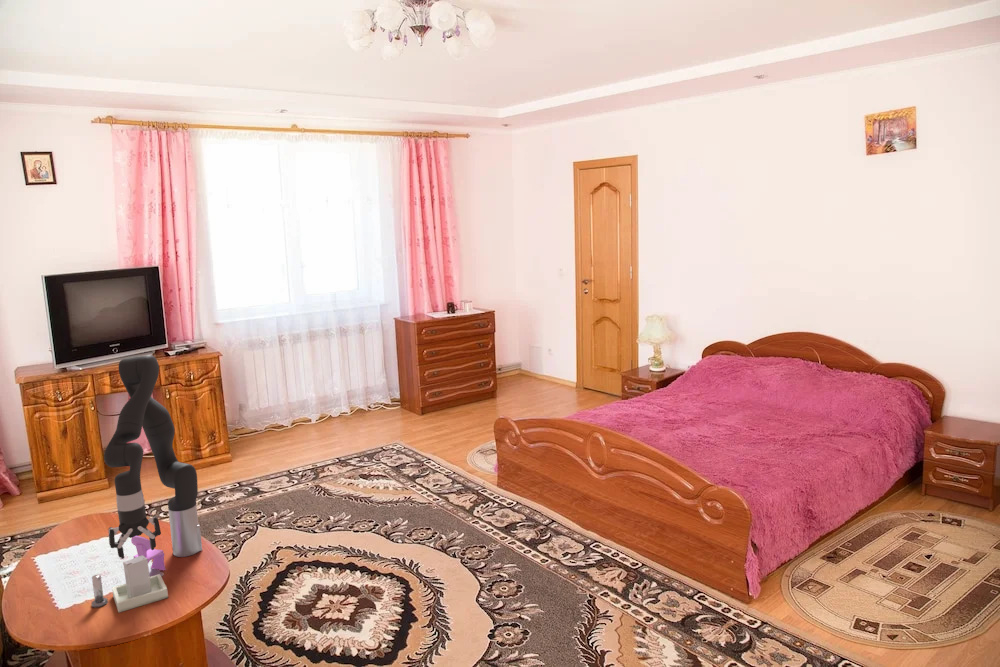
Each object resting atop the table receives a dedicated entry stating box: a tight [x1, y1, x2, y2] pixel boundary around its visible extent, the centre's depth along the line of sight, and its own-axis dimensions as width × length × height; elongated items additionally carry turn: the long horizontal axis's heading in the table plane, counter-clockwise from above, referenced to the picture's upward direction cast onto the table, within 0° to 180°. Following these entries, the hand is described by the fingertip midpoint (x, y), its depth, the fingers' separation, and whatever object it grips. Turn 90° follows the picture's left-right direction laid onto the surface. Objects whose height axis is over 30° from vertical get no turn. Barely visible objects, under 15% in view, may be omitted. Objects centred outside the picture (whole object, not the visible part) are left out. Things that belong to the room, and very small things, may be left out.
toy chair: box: [130, 535, 167, 571], centre depth 236 cm, size 8×9×15 cm
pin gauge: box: [90, 574, 109, 609], centre depth 218 cm, size 4×4×9 cm
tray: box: [111, 573, 169, 613], centre depth 222 cm, size 14×12×3 cm
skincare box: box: [122, 555, 151, 598], centre depth 221 cm, size 6×4×12 cm
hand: (137, 553), depth 220 cm, fingers open, 8 cm apart
